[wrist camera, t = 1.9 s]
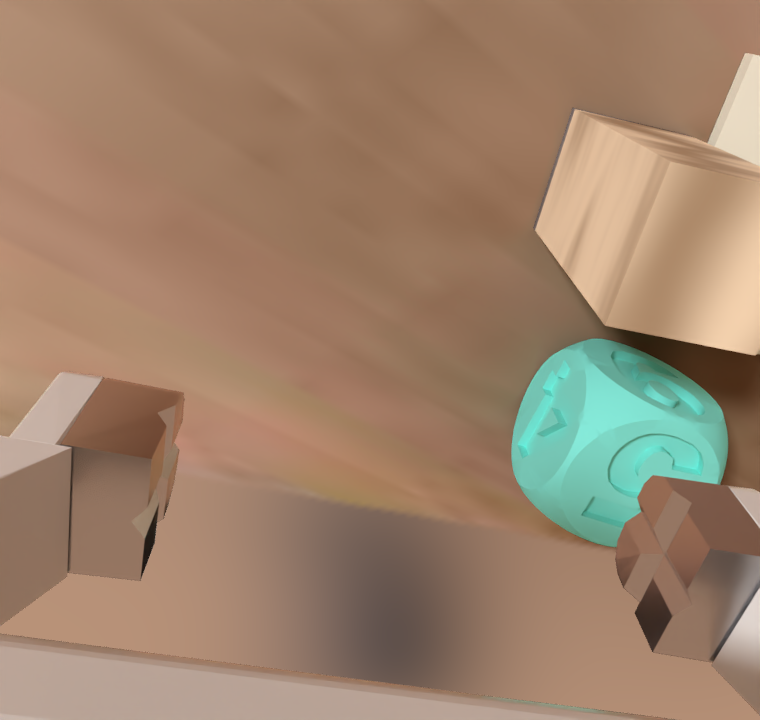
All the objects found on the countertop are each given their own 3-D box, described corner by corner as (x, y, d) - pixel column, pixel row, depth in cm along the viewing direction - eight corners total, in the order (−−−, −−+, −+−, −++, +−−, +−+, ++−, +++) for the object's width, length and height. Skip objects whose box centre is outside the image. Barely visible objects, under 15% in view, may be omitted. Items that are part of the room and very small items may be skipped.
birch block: (689, 135, 35) (836, 199, 24) (642, 251, 37) (755, 355, 27) (572, 107, 34) (670, 161, 23) (533, 228, 37) (604, 325, 26)
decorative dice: (499, 436, 42) (527, 526, 35) (562, 320, 39) (607, 394, 32) (616, 473, 44) (666, 566, 37) (687, 365, 41) (756, 445, 34)
